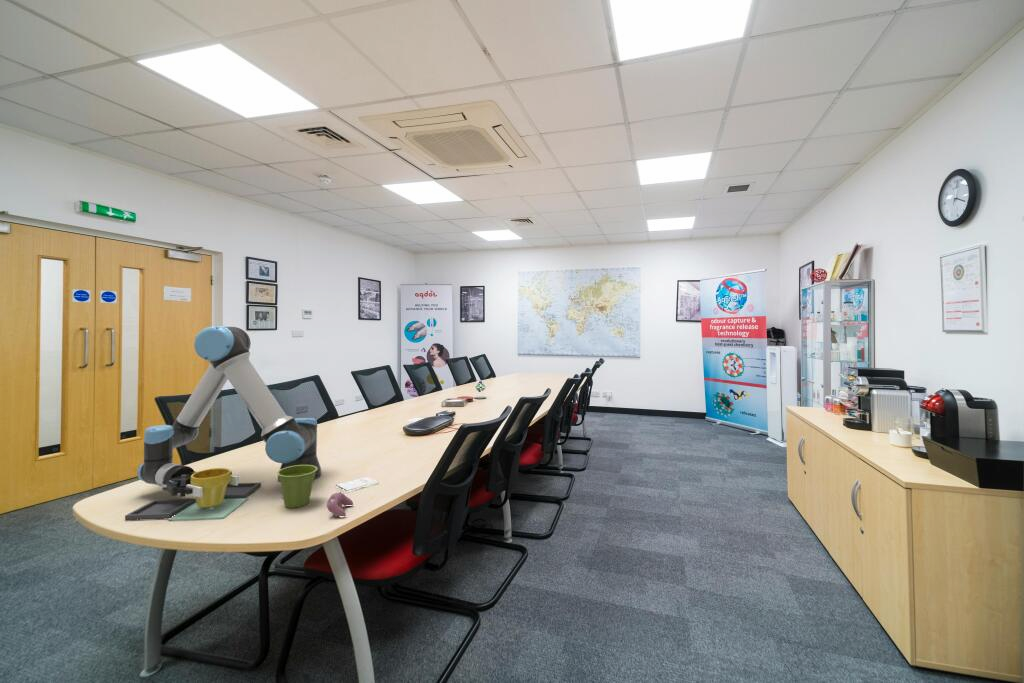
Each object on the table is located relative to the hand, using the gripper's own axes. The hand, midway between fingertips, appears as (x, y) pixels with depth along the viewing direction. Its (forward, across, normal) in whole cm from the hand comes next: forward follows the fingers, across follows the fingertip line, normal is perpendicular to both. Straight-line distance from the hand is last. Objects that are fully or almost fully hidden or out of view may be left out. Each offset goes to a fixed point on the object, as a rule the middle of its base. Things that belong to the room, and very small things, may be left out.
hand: (219, 486), depth 129 cm
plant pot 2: (+16, -14, -8) cm, 23 cm away
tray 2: (-11, -12, -8) cm, 18 cm away
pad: (-4, 0, -8) cm, 9 cm away
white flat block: (+22, -36, -9) cm, 43 cm away
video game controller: (+34, -15, -8) cm, 38 cm away
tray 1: (-16, +7, -8) cm, 19 cm away
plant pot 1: (-4, 0, -6) cm, 8 cm away
